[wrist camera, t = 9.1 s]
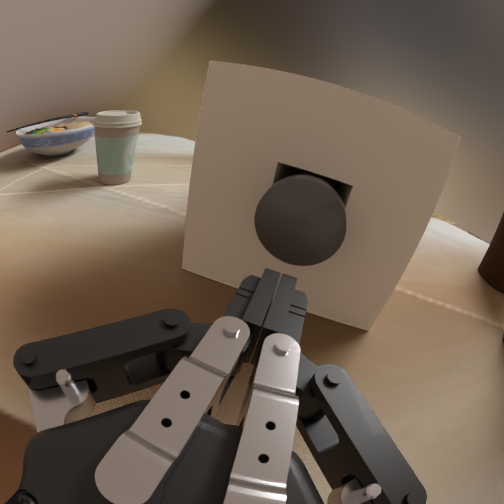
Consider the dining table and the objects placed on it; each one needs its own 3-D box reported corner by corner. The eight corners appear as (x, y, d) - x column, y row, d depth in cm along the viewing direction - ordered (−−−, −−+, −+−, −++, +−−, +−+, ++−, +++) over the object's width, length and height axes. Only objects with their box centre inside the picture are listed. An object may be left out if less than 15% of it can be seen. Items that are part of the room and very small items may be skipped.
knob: (332, 227, 28) (352, 169, 25) (328, 276, 21) (359, 198, 17) (272, 208, 29) (287, 148, 26) (246, 249, 21) (265, 168, 18)
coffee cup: (127, 190, 42) (132, 116, 36) (83, 185, 41) (84, 115, 34) (144, 173, 49) (149, 110, 43) (104, 169, 48) (107, 109, 42)
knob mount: (363, 268, 36) (419, 125, 26) (368, 331, 26) (461, 137, 16) (223, 222, 39) (252, 73, 28) (181, 268, 29) (209, 60, 18)
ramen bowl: (28, 177, 41) (26, 136, 36) (4, 158, 48) (2, 128, 43) (120, 150, 60) (123, 117, 56) (78, 137, 67) (79, 111, 63)
